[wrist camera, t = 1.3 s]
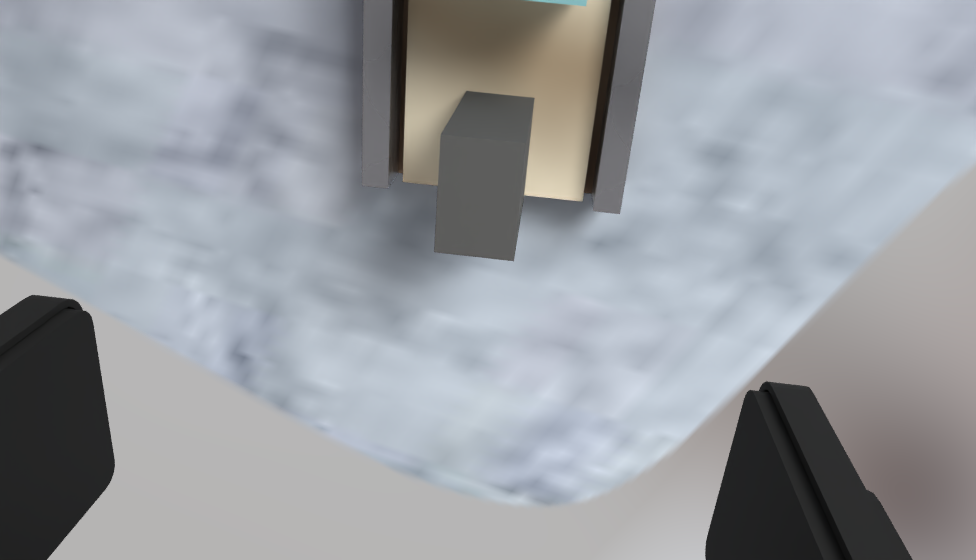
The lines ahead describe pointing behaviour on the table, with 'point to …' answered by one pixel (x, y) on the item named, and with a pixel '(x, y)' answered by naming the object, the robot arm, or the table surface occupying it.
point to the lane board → (612, 113)
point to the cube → (564, 2)
